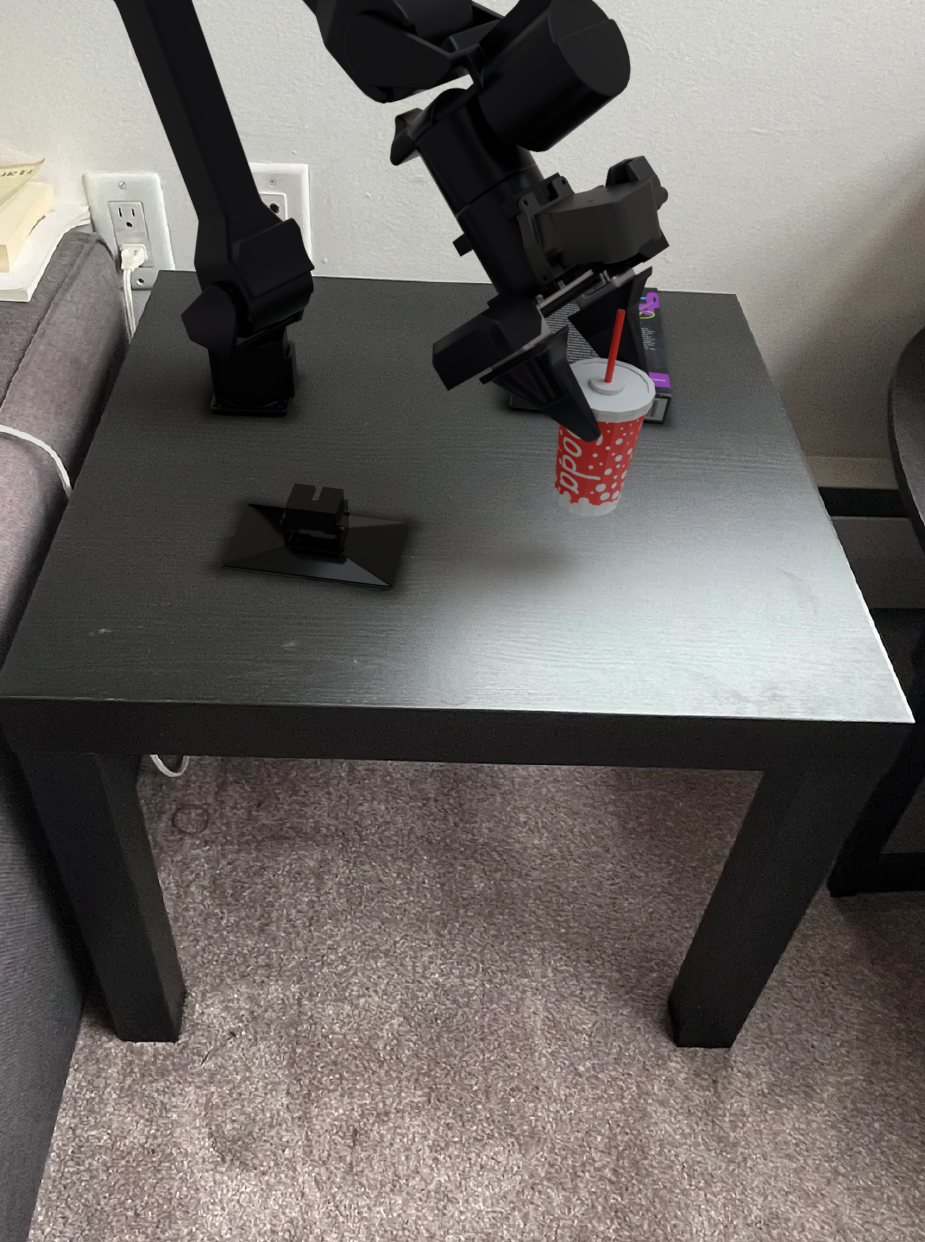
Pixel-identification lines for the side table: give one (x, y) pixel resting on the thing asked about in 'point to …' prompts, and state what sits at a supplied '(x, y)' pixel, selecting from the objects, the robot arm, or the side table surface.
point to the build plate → (318, 541)
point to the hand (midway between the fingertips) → (620, 417)
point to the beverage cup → (602, 433)
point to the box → (652, 345)
